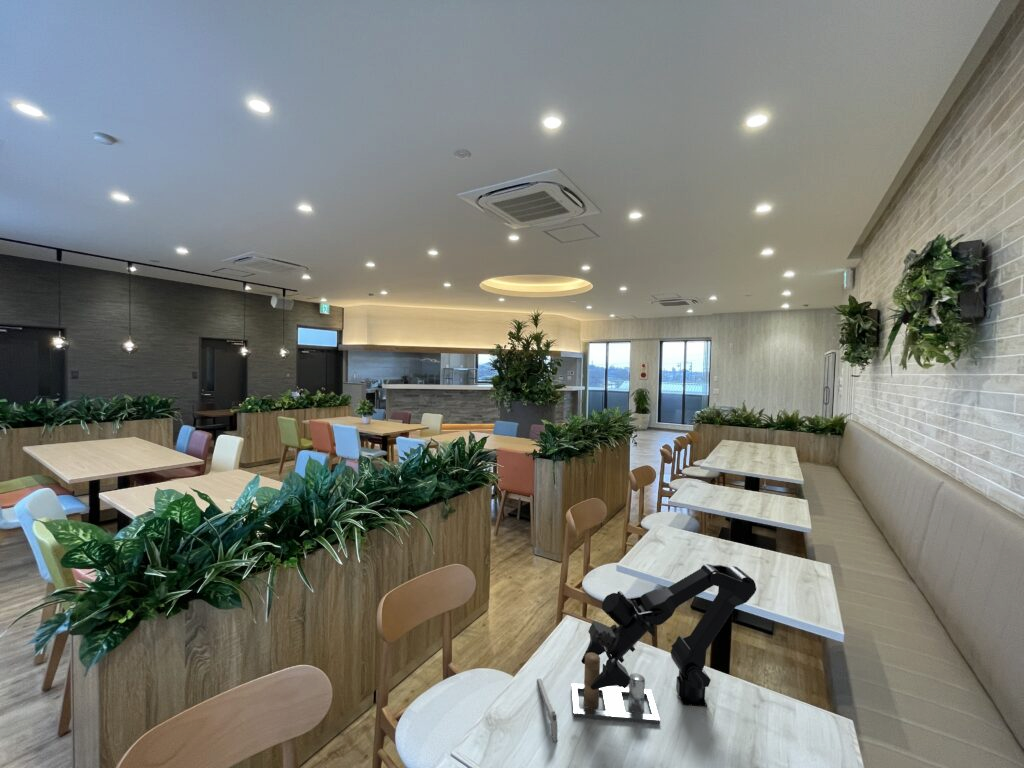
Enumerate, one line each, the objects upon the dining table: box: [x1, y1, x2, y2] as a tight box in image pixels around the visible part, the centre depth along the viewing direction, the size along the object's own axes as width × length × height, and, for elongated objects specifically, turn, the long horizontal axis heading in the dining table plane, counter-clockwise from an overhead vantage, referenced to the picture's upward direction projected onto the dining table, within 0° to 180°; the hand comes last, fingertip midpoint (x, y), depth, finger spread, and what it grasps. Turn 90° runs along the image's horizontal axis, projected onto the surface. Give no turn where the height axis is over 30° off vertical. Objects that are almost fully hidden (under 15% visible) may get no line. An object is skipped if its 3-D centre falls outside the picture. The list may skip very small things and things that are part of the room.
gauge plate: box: [571, 682, 661, 725], centre depth 114 cm, size 22×10×1 cm, turn 85°
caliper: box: [536, 678, 558, 743], centre depth 113 cm, size 20×1×6 cm, turn 8°
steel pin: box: [627, 672, 646, 714], centre depth 114 cm, size 4×4×8 cm
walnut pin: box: [583, 652, 601, 710], centre depth 115 cm, size 4×4×13 cm
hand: (586, 674), depth 114 cm, fingers open, 9 cm apart
